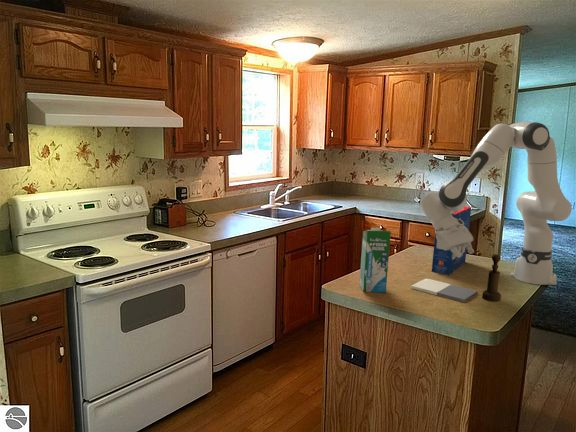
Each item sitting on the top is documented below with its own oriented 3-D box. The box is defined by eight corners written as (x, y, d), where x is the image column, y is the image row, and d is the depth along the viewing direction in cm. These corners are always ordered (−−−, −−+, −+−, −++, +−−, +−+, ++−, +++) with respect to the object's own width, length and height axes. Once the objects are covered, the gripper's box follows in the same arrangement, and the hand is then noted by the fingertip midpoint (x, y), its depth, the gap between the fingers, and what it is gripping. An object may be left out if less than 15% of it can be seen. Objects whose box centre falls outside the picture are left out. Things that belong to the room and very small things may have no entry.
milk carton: (381, 285, 197) (385, 226, 193) (385, 292, 188) (390, 231, 184) (359, 284, 197) (363, 225, 192) (363, 292, 188) (367, 230, 183)
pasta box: (449, 259, 242) (454, 205, 237) (465, 262, 238) (471, 207, 233) (431, 271, 220) (437, 211, 214) (449, 275, 215) (455, 214, 210)
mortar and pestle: (495, 296, 189) (501, 252, 186) (503, 302, 183) (509, 256, 179) (479, 295, 189) (484, 251, 186) (486, 301, 182) (492, 256, 179)
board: (425, 280, 205) (426, 278, 205) (477, 293, 191) (477, 291, 191) (410, 288, 195) (411, 285, 194) (464, 302, 181) (464, 299, 180)
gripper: (438, 225, 188) (459, 254, 183) (464, 220, 202) (484, 247, 196) (427, 234, 192) (447, 263, 187) (453, 228, 206) (472, 255, 200)
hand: (466, 255), depth 192 cm, fingers open, 8 cm apart
